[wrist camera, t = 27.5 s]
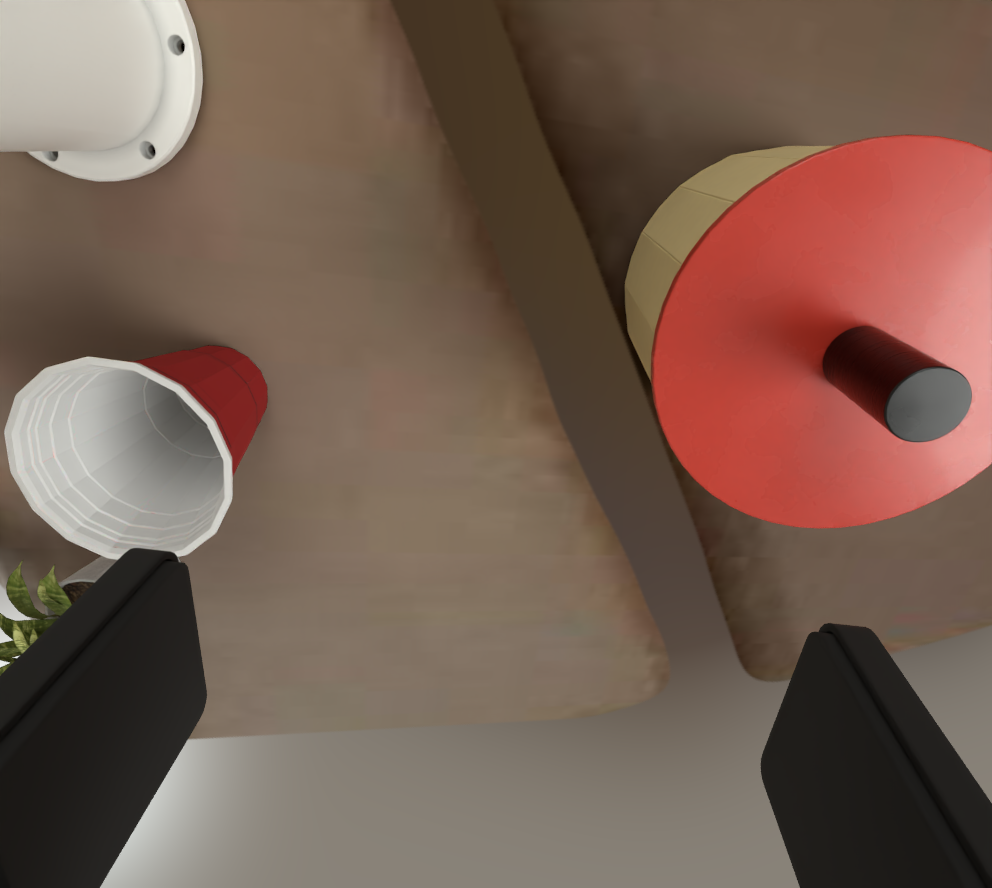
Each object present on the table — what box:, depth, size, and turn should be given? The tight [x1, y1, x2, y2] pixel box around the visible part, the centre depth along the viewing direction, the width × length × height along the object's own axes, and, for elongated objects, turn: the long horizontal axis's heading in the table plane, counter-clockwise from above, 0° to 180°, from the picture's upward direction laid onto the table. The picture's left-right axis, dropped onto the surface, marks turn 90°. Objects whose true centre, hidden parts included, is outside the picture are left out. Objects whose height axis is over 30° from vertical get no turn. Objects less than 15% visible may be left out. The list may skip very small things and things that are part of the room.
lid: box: [651, 135, 992, 528], centre depth 23 cm, size 16×16×6 cm
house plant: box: [0, 556, 180, 675], centre depth 40 cm, size 14×14×16 cm
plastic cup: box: [4, 345, 267, 560], centre depth 36 cm, size 11×11×12 cm
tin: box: [625, 146, 833, 381], centre depth 31 cm, size 15×15×12 cm
